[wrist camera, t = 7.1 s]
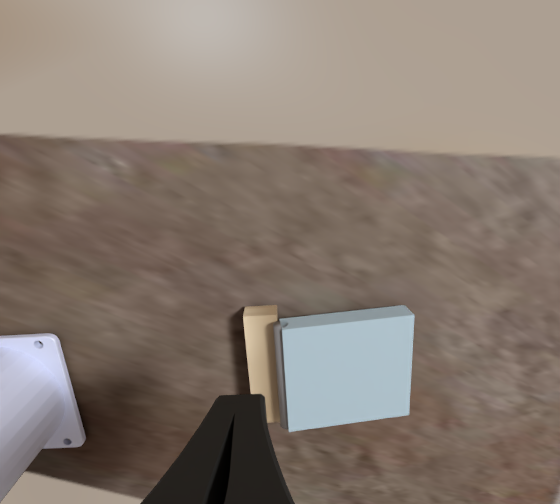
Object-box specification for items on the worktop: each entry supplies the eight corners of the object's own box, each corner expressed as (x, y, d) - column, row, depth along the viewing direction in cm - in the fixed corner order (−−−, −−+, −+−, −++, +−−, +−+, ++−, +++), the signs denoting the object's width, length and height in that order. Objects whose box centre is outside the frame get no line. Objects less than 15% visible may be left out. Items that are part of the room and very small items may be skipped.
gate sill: (255, 408, 22) (253, 423, 21) (245, 306, 20) (242, 316, 19) (284, 407, 22) (284, 421, 21) (276, 305, 20) (276, 314, 19)
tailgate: (281, 432, 20) (408, 414, 21) (274, 330, 18) (414, 314, 19) (279, 417, 21) (399, 400, 22) (271, 319, 19) (404, 304, 20)
